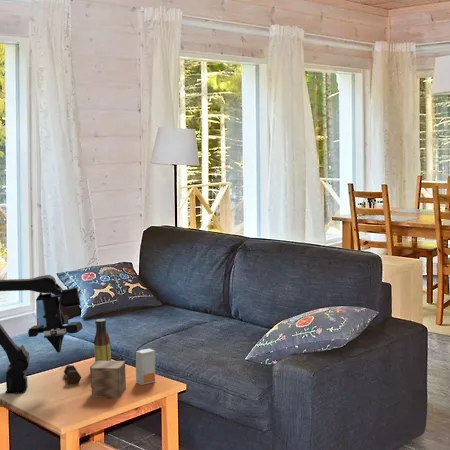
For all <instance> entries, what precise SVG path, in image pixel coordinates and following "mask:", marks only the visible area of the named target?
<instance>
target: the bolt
mask: <svg viewBox="0 0 450 450" xmlns="http://www.w3.org/2000/svg"><path fill="white" fill-rule="evenodd" d="M63 373H64V374H65V377H64V378H65V381H66V382H67V384H68V385H69V386H73V385H75V386H76V385H79V384H80V381H81V380H82V376H81V374H80V373H79V372H78V370H77V368H76V366H74V364H68V365H66V366H65V368H64V371H63Z"/></svg>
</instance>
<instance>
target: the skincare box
mask: <svg viewBox="0 0 450 450" xmlns="http://www.w3.org/2000/svg"><path fill="white" fill-rule="evenodd" d="M135 382H136V383H137V384H139V385H141V386H143V385H147V384H152V383H156V350H154V349H152V348H145V349H140V350H137V351H135Z"/></svg>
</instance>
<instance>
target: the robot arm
mask: <svg viewBox="0 0 450 450" xmlns="http://www.w3.org/2000/svg"><path fill="white" fill-rule="evenodd" d="M19 291H31V292H36V293H39V294H38V296H36V299H35V300H36V301H37V302H39V301H42V308H43V313H44V314H43V316H42V319H44V320H45V326H44V325H43V324H37V325H33V326H31V327H30V328H28V330H27V335H28V338H33V337H35V338H36V337H37V336H38V335H39V334H44V336H43V338H44V339H47V341H48V342H49V343H50V344H51V346H52V347H53V349H54V350H55V351H56V353H57V354H58V353H61V351H62V344H63V341H64V337H65V335H66V334H70V335H71V334H77V333H79V332H80V331H81V330H82V329H83V323H82V322H81V321H71V322H70V323H69V315H68V314H63V313H64V312H63V310H61V307H63V308H64V309H68V308H74V307H79V306H81V304H82V303H81V298H80V294H79V291H78V287H77V286H75V287H74V286H73V287H71V288H66V289H63V287H61V285H59V284H58V283H57V280H56V278H55V277H54V276H53V275H50V274H45V275H41V276H36V277H33V278H19V279H18V278H17V279H16V278H15V279H14V278H13V279H0V292H19ZM60 305H61V306H60ZM0 346H1V348H2V349H3V351H4V352H5V353H6V356H7V359H8V362H9V364H8V367H7V369H6V372H5V381H6V383H5V384H6V391H5V393H6V394H24V393H25V392H26V390H27V389H28V388H29V387H28V376H26V375H27V374H26V372H25V371H26V370H27V369H28V367H29V365H30V361H31V360H30V358H31V357H30V352H29V351H28V350H27V349H26V348H25V346H24V345H23V344H22V345H20V346H19V345H17V344H16V343H15V342H14V341H13V339H12V338H11V337H10V335H9V334H8V333H7V331H6V330H5V329H4V327H3V326H2V325H1V324H0Z"/></svg>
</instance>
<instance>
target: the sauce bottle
mask: <svg viewBox="0 0 450 450" xmlns="http://www.w3.org/2000/svg"><path fill="white" fill-rule="evenodd" d="M106 324H107V319H106V318H99V319H95V326H96V327H95V328H96V330H95V335H94V339H93V348H94V349H93V351H94V362H97V361H112V355H111V354H112V353H111V342H110V335H109V333H108V331H107V326H106Z"/></svg>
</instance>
